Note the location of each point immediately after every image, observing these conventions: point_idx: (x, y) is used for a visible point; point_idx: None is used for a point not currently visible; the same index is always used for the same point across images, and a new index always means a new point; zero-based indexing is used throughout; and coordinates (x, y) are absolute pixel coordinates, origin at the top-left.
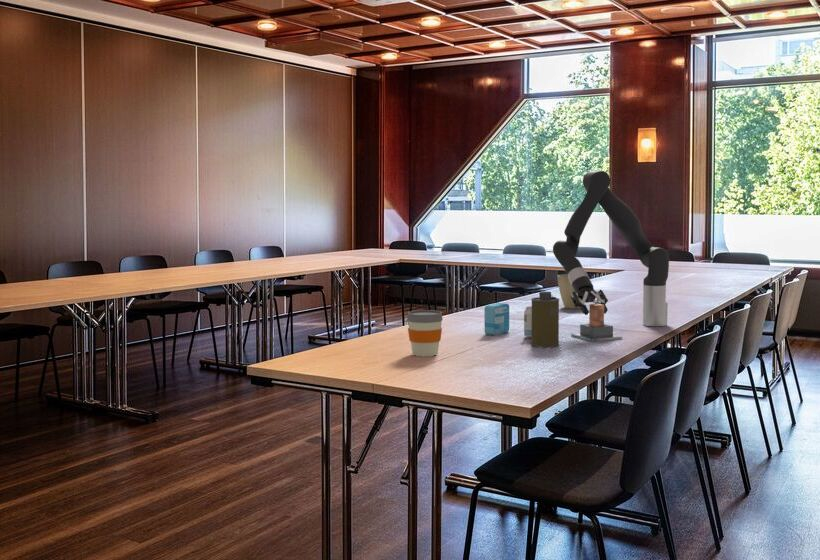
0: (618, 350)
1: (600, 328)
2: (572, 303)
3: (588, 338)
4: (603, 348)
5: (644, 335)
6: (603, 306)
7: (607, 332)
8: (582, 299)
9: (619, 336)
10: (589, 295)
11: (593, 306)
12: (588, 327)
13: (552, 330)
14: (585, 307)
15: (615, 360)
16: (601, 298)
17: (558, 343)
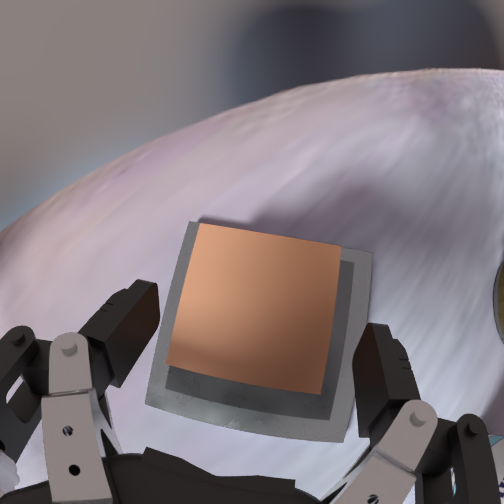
0: (375, 103)
1: None
2: None
3: (370, 278)
4: (401, 142)
5: (60, 240)
6: (213, 232)
7: None
8: (408, 480)
9: (197, 229)
10: None
11: (333, 295)
12: (345, 320)
13: None
14: (397, 364)
15: (433, 70)
16: (15, 420)
17: (502, 272)
